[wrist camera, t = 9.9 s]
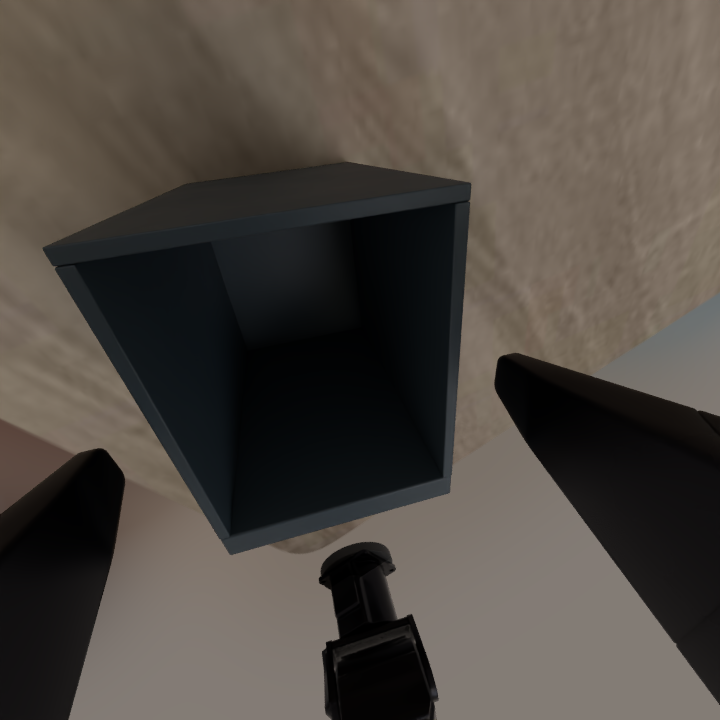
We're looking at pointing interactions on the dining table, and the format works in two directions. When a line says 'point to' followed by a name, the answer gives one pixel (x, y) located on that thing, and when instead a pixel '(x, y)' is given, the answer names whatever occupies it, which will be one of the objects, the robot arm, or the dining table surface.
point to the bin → (287, 338)
